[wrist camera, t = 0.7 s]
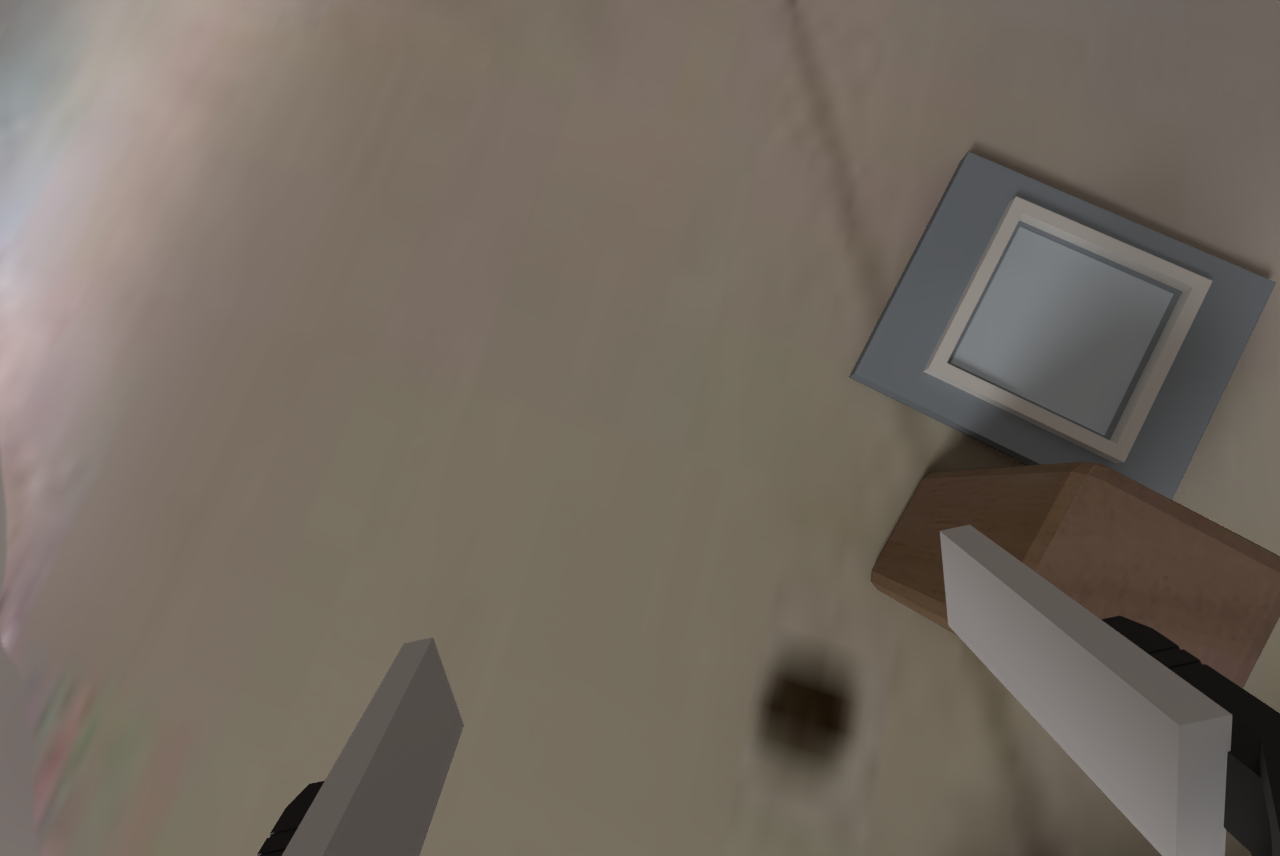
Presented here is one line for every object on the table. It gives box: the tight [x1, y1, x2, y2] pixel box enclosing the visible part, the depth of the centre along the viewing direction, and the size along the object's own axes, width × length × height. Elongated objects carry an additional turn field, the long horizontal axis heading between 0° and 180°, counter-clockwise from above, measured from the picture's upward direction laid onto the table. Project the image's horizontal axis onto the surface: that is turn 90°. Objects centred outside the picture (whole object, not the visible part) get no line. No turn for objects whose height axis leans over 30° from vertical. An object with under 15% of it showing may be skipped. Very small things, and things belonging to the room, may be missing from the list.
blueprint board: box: [849, 152, 1276, 500], centre depth 45 cm, size 24×20×2 cm
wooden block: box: [871, 462, 1280, 689], centre depth 36 cm, size 10×10×20 cm
